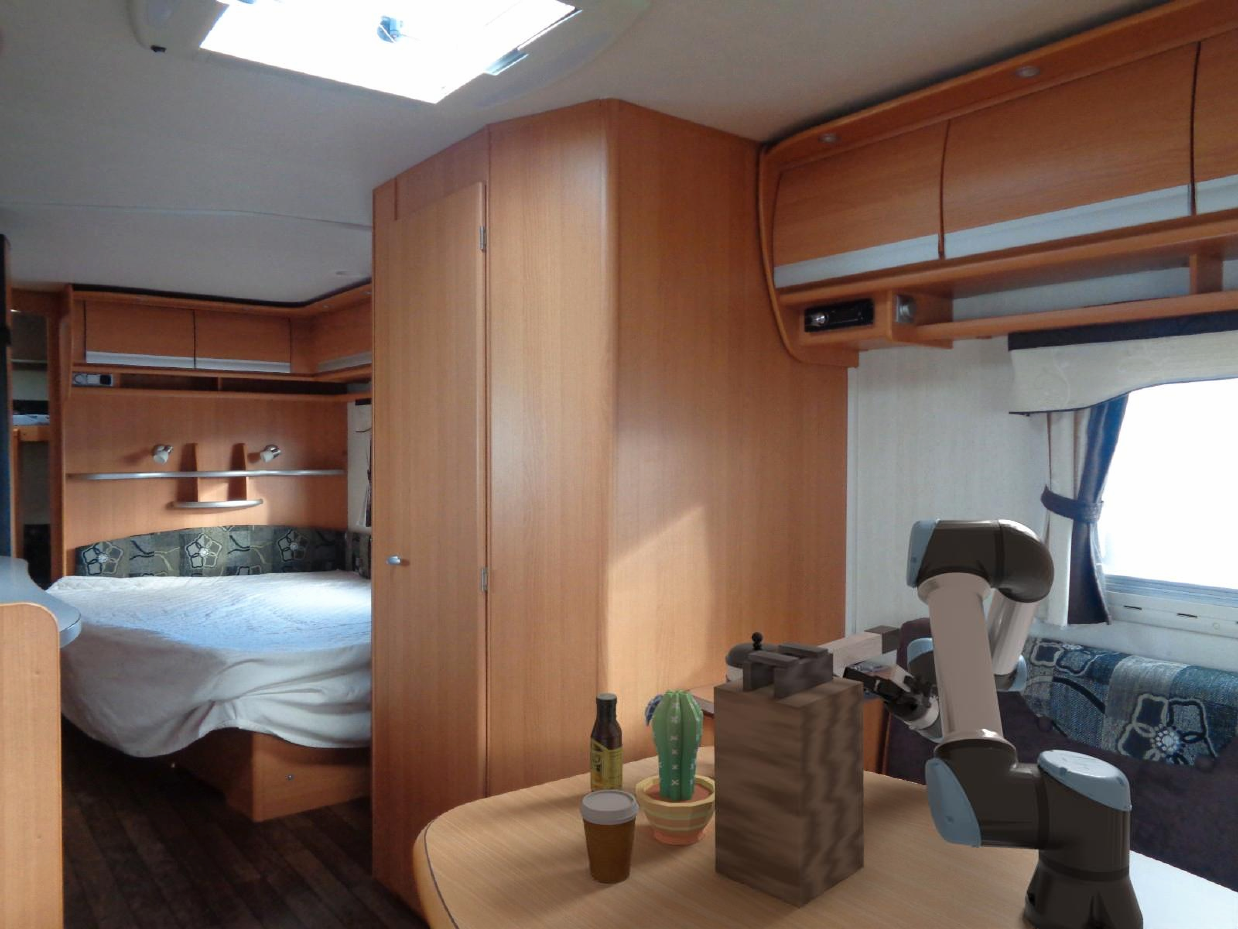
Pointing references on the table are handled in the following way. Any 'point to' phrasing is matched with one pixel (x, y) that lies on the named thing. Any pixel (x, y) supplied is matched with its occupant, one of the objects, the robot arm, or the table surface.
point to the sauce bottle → (606, 746)
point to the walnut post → (789, 774)
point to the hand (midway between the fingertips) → (858, 665)
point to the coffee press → (745, 655)
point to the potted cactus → (676, 771)
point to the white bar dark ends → (863, 646)
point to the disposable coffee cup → (609, 833)
